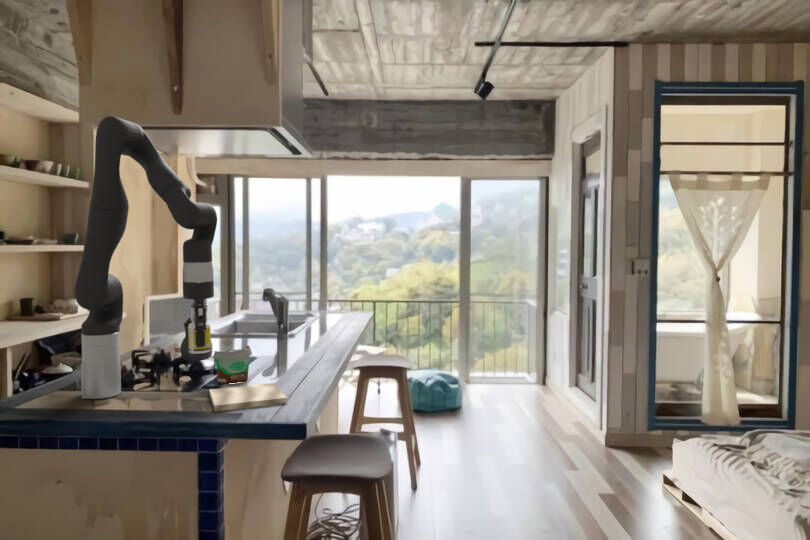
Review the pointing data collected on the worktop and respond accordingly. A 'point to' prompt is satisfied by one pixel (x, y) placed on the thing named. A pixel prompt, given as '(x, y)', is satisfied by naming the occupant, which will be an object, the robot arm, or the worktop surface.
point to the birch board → (246, 396)
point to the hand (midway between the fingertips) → (199, 344)
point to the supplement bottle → (192, 339)
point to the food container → (232, 365)
